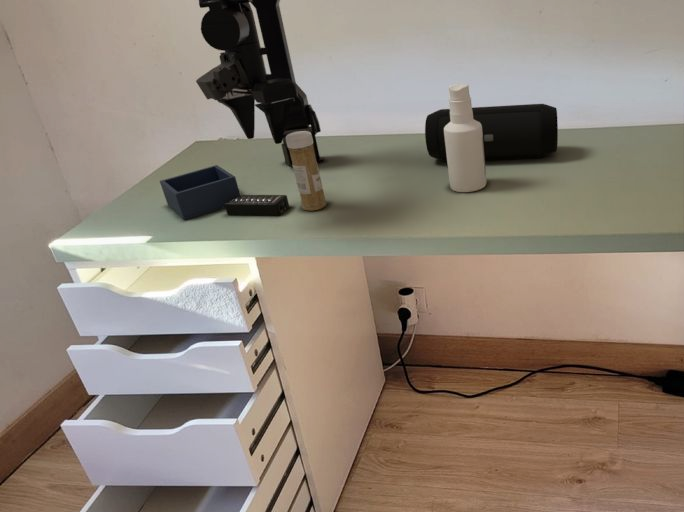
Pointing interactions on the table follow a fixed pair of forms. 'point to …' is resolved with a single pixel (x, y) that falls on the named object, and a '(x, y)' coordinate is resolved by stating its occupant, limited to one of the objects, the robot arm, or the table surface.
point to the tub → (199, 191)
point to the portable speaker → (502, 131)
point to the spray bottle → (464, 143)
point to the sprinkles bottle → (306, 170)
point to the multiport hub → (257, 205)
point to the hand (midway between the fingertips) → (264, 140)
